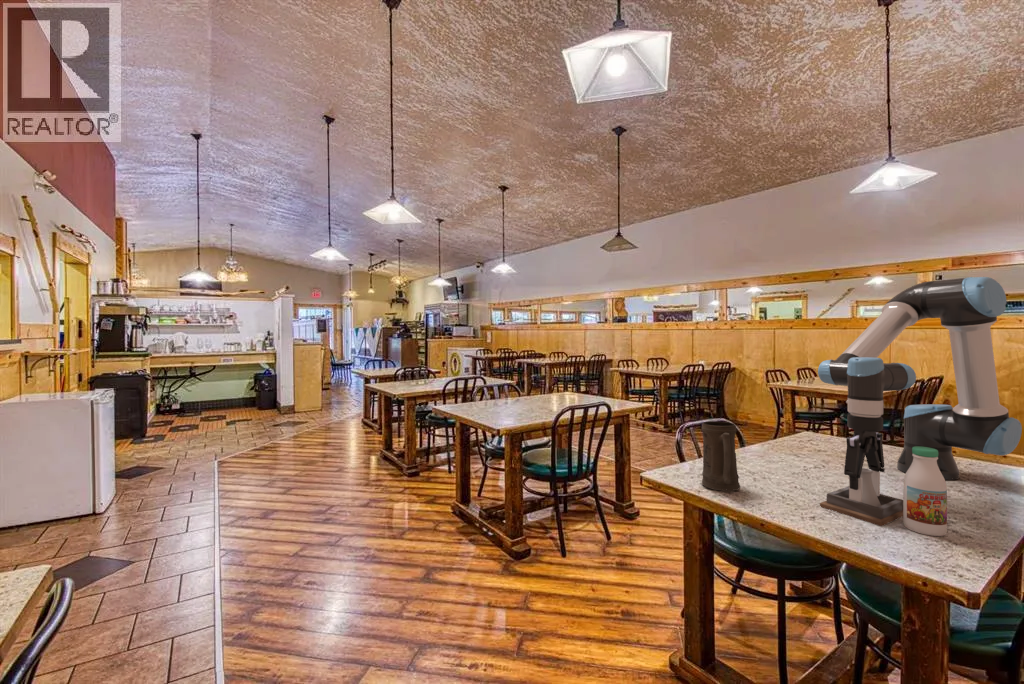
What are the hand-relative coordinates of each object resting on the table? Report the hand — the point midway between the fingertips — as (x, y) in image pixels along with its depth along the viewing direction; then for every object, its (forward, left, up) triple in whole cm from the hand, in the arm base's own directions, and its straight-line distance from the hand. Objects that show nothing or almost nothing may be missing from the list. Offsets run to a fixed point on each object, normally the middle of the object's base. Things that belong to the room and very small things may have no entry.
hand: (864, 497), depth 118 cm
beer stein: (+19, -29, -4) cm, 35 cm away
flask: (0, 0, -3) cm, 3 cm away
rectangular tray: (0, 0, -3) cm, 3 cm away
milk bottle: (+1, +13, -4) cm, 13 cm away
